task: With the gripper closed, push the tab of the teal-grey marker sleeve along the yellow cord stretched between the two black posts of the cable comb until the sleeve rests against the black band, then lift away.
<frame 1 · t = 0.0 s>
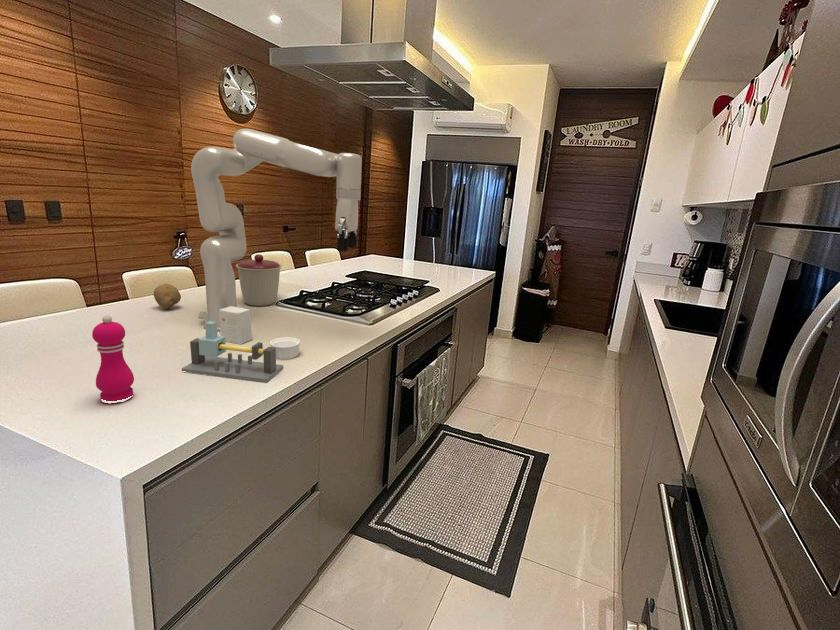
hand: (347, 249, 142), 31 cm above the counter, tool pointing down, fingers open, 9 cm apart
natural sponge: (168, 309, 170), on the counter
marker sleeve: (211, 337, 118), point 9 cm above the counter, slide at 0.0 cm
pepper mill: (117, 399, 101), on the counter
canister: (260, 303, 187), on the counter
small box: (236, 340, 143), on the counter
ramekin: (285, 355, 134), on the counter
cable comb: (234, 370, 120), on the counter
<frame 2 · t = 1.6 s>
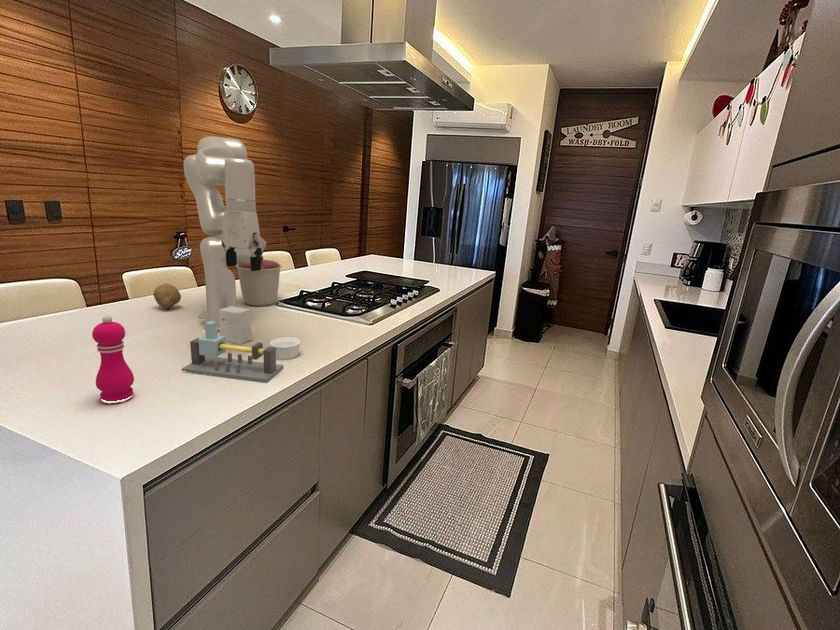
hand: (243, 268, 124), 27 cm above the counter, tool pointing down, fingers open, 9 cm apart
nothing on the counter moved.
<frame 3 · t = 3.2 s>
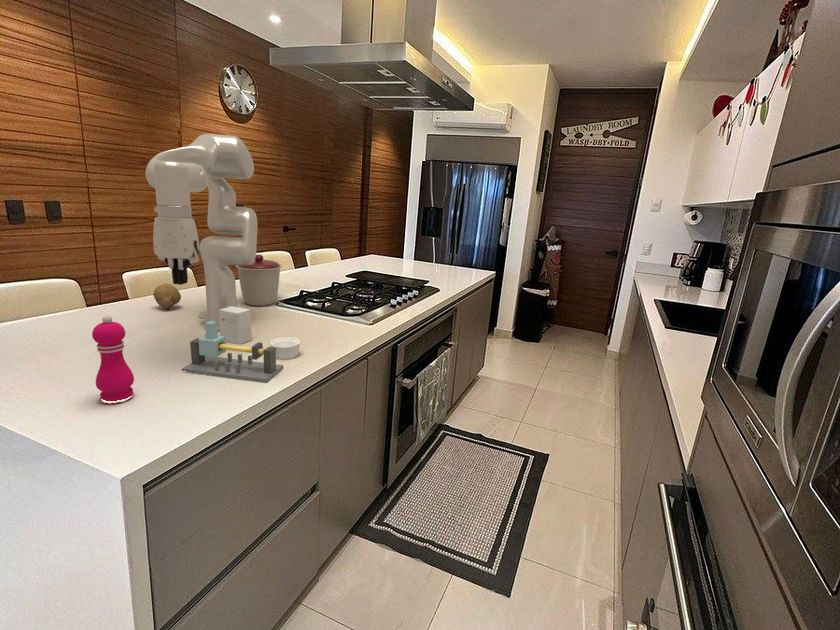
hand: (180, 283, 115), 23 cm above the counter, tool pointing down, fingers closed
nothing on the counter moved.
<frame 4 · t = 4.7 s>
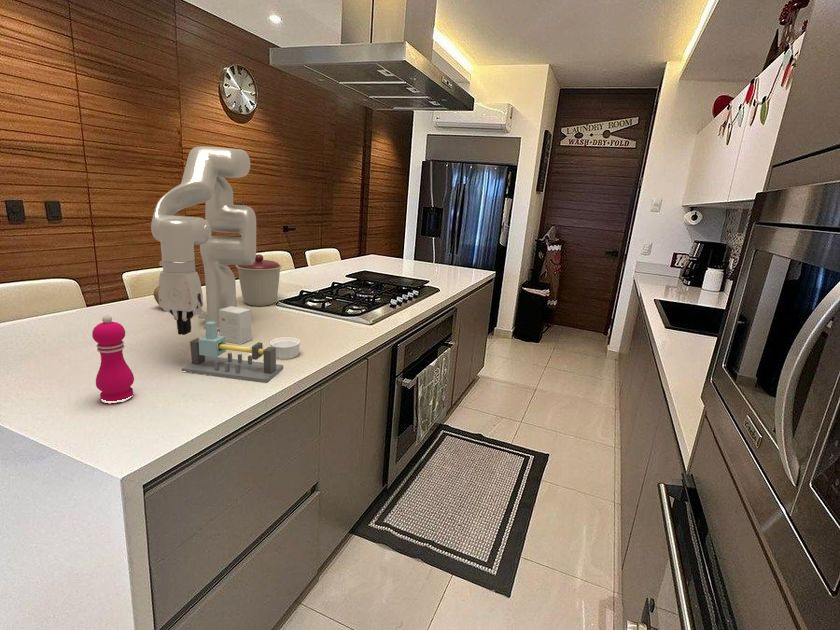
hand: (184, 333, 119), 9 cm above the counter, tool pointing down, fingers closed
nothing on the counter moved.
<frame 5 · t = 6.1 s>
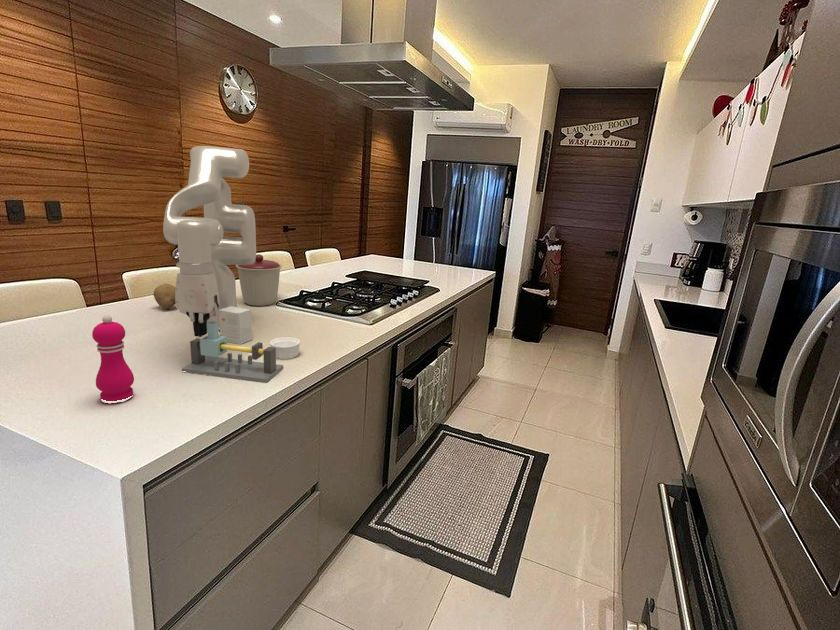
hand: (200, 335, 119), 9 cm above the counter, tool pointing down, fingers closed
marker sleeve: (213, 338, 118), point 9 cm above the counter, slide at 0.4 cm, touching gripper
everything else where it was.
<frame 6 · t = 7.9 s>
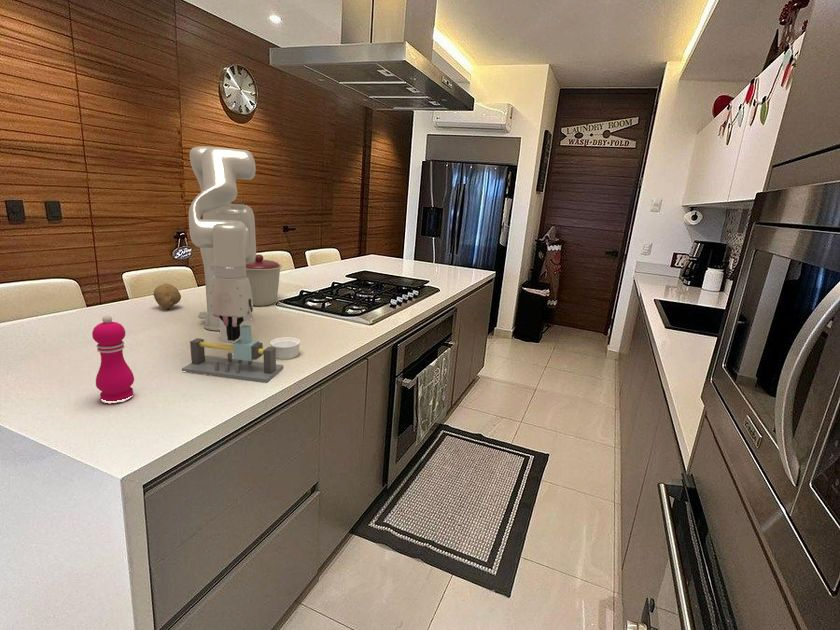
hand: (233, 339, 117), 9 cm above the counter, tool pointing down, fingers closed
marker sleeve: (246, 342, 117), point 9 cm above the counter, slide at 9.9 cm, touching cable comb, gripper
everything else where it was.
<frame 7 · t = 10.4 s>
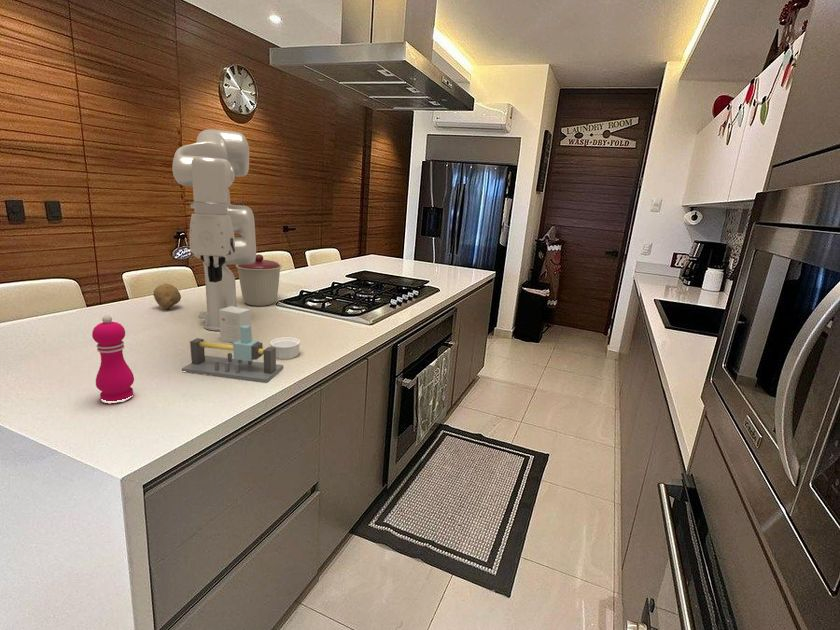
hand: (215, 281, 114), 25 cm above the counter, tool pointing down, fingers closed
marker sleeve: (246, 342, 117), point 9 cm above the counter, slide at 9.9 cm, touching cable comb
everything else where it was.
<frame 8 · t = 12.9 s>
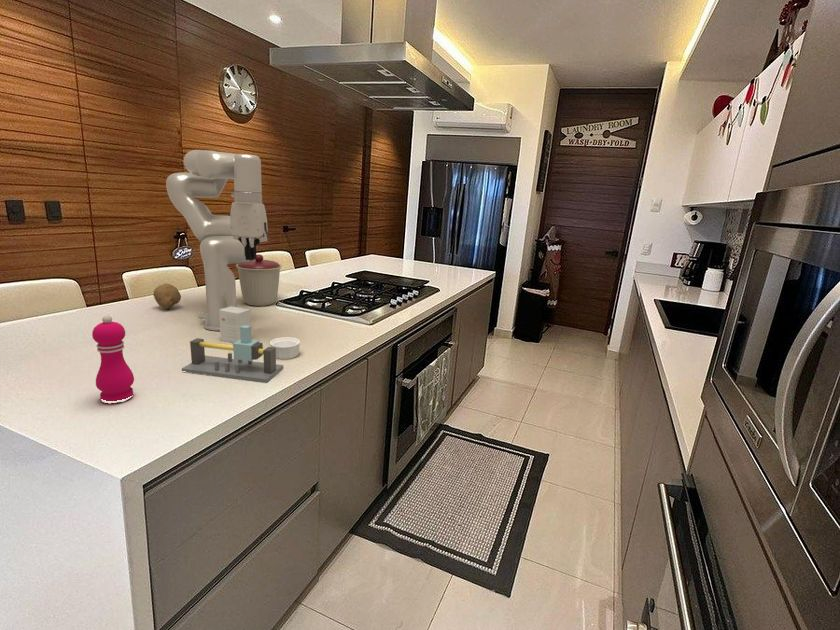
hand: (250, 259, 134), 27 cm above the counter, tool pointing down, fingers closed
nothing on the counter moved.
at the end: marker sleeve slide at 9.9 cm; marker sleeve touching cable comb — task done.
